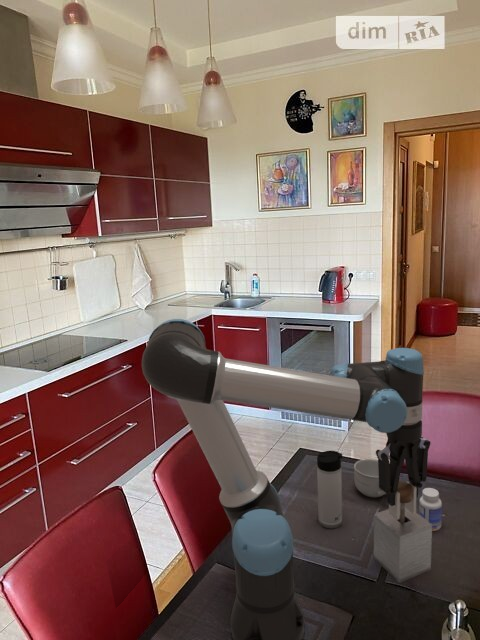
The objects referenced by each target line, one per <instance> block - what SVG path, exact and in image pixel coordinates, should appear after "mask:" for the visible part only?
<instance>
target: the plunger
mask: <svg viewBox="0 0 480 640" xmlns="http://www.w3.org/2000/svg"><path fill="white" fill-rule="evenodd" d="M407 482H408V481H402V480H400V481H399V483H398V488H397V491H398V492H399V493H400V523H401V524H403V523H405V503H409V502H411V501H412V485H411V484H409V483H410V482H409V483H407Z"/></svg>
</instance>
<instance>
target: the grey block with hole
mask: <svg viewBox="0 0 480 640" xmlns="http://www.w3.org/2000/svg"><path fill="white" fill-rule="evenodd" d="M432 535H433V531H432V524H431V523H429V522H428V521H427V520H426V519H424V518H423V517H422V516H420V515H419V513H418V512H416V513H415V514H413V513H412V512H410V511H409V510H408V509H406V508H405V523H403V524H401V523H400V519H398V520H396V519H395V518H394V517H393V516H392V515H390V514H389V507H385V508H382V509H379V510H378V512H376V513H373V559H374V560H376V561H377V563H378V564H379V565H380V566H381V567H382V568H383V569H384V570H385V571H386V572H388V574H389V575H390V576H391V577H392V578H394V580H395V581H396V582H397V583H398V584H400V583H404V582H406V581H408V580H411V579H413V578H415V577H417V576H420V575H422V574H425V573H427V572H429V571H431V569H432V567H431V566H432V544H433V543H432V541H433V539H432Z"/></svg>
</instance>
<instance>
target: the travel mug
mask: <svg viewBox="0 0 480 640" xmlns="http://www.w3.org/2000/svg"><path fill="white" fill-rule="evenodd" d="M341 459H343V453H341V452H339V451H336V450H324V451H322V452H320V453H319V454H318V455H317V457H316V464H317V465H316V472H317V473H316V475H317V476H316V477H317V480H316V482H317V506H318V507H317V508H318V509H317V510H318V511H317V512H318V523H319V524H320V525H321V526H322V527H323V528H326V529H336V528H339V527H340V526H341V525H342V524H343V493H342V491H343V490H342V488H343V487H342V482H343V481H342V460H341Z"/></svg>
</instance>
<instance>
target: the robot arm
mask: <svg viewBox="0 0 480 640" xmlns="http://www.w3.org/2000/svg"><path fill="white" fill-rule="evenodd" d="M424 368H425V367H424V357H423V355H422V353H421V352H419V350H417V349H414V348H408V347H396V348H392V349H391V348H390V349H389V350H387V351H386V355H385V358H384V359H383V360H380V361H370V362H369V361H367V362H355V363H354V362H351V363H349V362H347V363H343V364H337V365H336V364H335V365H334V366H332V368H331V369H330V374H323V373H318V372H312V371H311V372H310V371H304V370H300V369H299V370H298V369H294V368H293V369H292V368H288V367H287V368H286V367H279V366H274V365H268V364H261V363H255V362H250V361H243V360H238V359H231V358H225V357H224V356H223V355H222V353H221V352H220V351H217V350H211V349H207V347H206V339H205V335H204V334H203V332H202V331H201V329H200V328H199V326H197V325H196V324H195V323H193V322H191V321H190V320H187V319H183V318H173V319H168V320H166V321H164V322H161V324H159V325H158V326H157V327H156V328H155V329H154V330H152V332H151V333H150V335H149V338H148V341H147V345H146V347H145V349H144V351H143V353H142V358H141V369H142V374H143V376H144V378H145V380H146V381H147V383H148V384H149V385H150V386H151V388H153V389H154V390H156V391H157V392H159V393H160V394H162V395H165V396H166V397H167V398H170V399H174V400H176V401H177V402H178V405H179V407H180V409H181V410H182V412H183V414H184V417H185V419H186V421H187V422H188V425H189V426H190V428H191V430H192V432H193V434H194V436H195V439H196V441H197V443H198V444H199V447H200V448H201V450H202V452H203V455H204V457H205V458H206V461H207V462H208V465H209V466H210V469H211V470H212V473H213V474H214V477H215V478H216V481H217V482H218V484H219V487H220V489H221V490H220V493H219V495H218V498H219V503H220V504H221V506H222V508H223V509H224V512H225V514H226V516H227V519H228V520H229V523H230V525H231V546H232V547H231V548H232V551H233V562H234V575H235V586H236V587H235V588H236V596H235V599H234V603H233V607H232V609H231V612H230V613H231V614H230V617H229V618H230V621H229V622H230V632H231V633H232V634H231V637H232V639H233V640H302V639H303V638H304V636H305V635H304V634H305V628H306V627H305V615H304V611H303V608H302V606H301V604H300V602H299V599H298V597H297V594H296V592H295V579H294V578H295V577H294V576H295V575H294V574H295V573H294V553H293V551H294V538H293V534H292V529H291V527H290V524H289V523H288V521H287V520H286V518H285V517H284V514H283V510H282V503H281V499H280V495H279V494H278V491H277V490H276V488H275V486H273V484H272V483H271V482H270V480H269V479H268V477H267V475H266V474H265V473H264V472H263V471H260V470H257V469H256V467H255V465H254V463H253V460H252V458H251V457H250V454H249V452H248V450H247V447H246V446H245V444H244V442H243V439H242V437H241V435H240V434H239V431H238V428H237V427H236V425H235V423H234V420H233V418H232V416H231V414H230V412H229V410H228V408H227V406H226V404H225V402H231V403H238V404H247V405H252V406H259V407H265V408H271V409H279V410H285V411H291V412H298V413H305V414H311V415H318V416H325V417H331V418H337V419H342V420H345V419H346V420H349V421H350V420H351V421H356V422H361V423H362V422H363V423H367V424H368V426H369V427H370V428H372V429H374V430H375V431H377V432H378V433H384V434H386V437H387V440H386V443H385V447H384V448H383V449H377V450H375V456H376V458H377V460H378V471H379V488H380V489H381V490H383V491H384V492H385V493H386V503H387V504H388V509H389V514H390V515H392V516H393V517H394V518H395V519H396V520H398V519H400V493H399V492H398V491H397V488H398V483H399V480H400V477H401V471H402V466H404V464H405V467H406V473H407V477H408V481H406V482H407V483H409V484H411V485H412V501H411V502H409V503H405V508H406V509H408V510H409V511H410V512H412V513H413V514H415V513H417V498H418V497H419V489H422V487H423V485H424V484H422V482H426V480H427V473H428V471H427V470H428V459H429V458H428V457H429V449H430V446H431V444H432V443H431V441H429V440H428V439H426V438H424V437H423V436H422V435H423V421H422V419H423V392H424V389H423V387H424V375H425V371H424V370H425V369H424ZM224 401H225V402H224Z"/></svg>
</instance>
